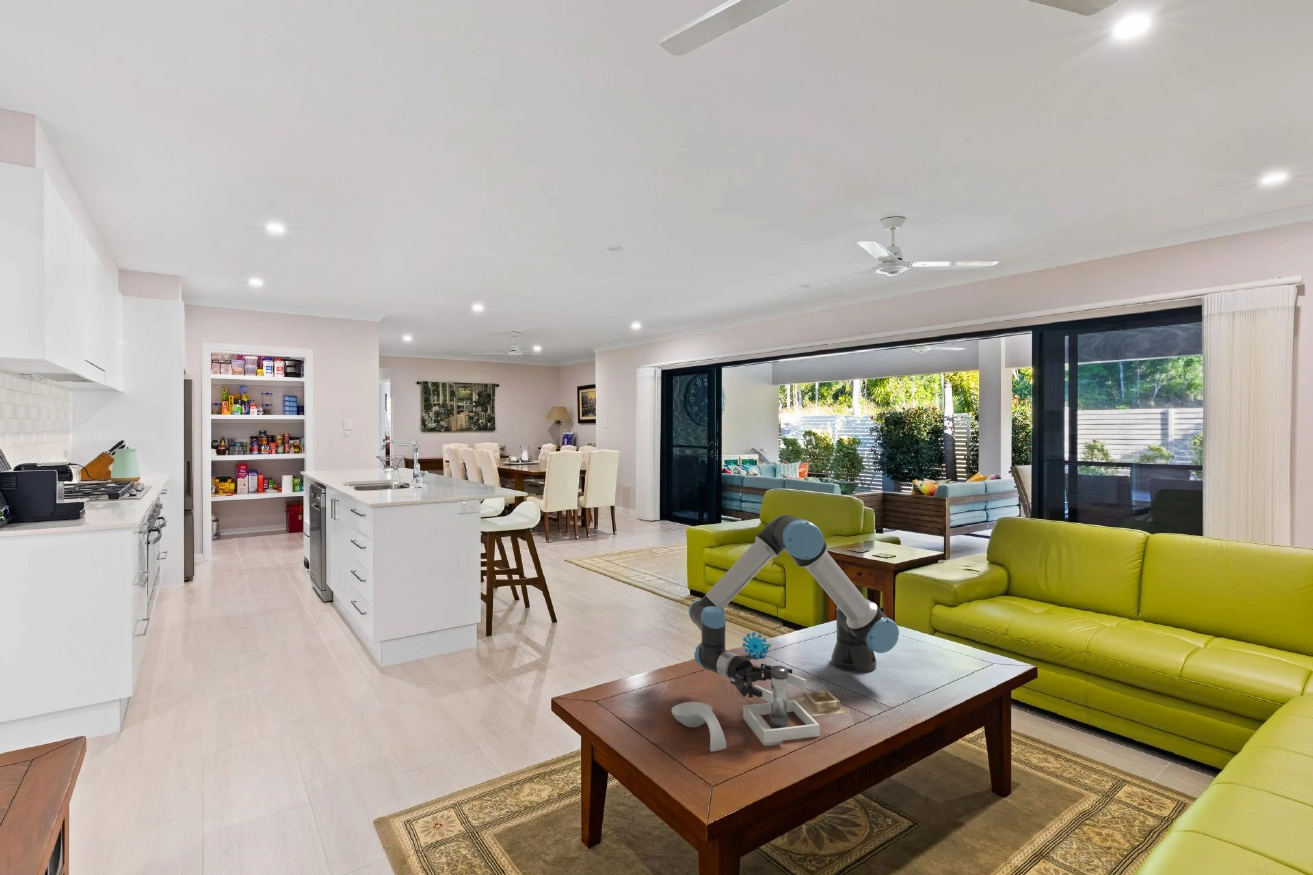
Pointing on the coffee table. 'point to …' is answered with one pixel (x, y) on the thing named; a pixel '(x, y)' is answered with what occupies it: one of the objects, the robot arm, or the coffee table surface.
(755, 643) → the gear
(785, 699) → the capped clear cylinder
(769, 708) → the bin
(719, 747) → the spoon rest
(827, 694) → the socket block
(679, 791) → the coffee table surface
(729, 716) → the coffee table surface
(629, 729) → the coffee table surface
